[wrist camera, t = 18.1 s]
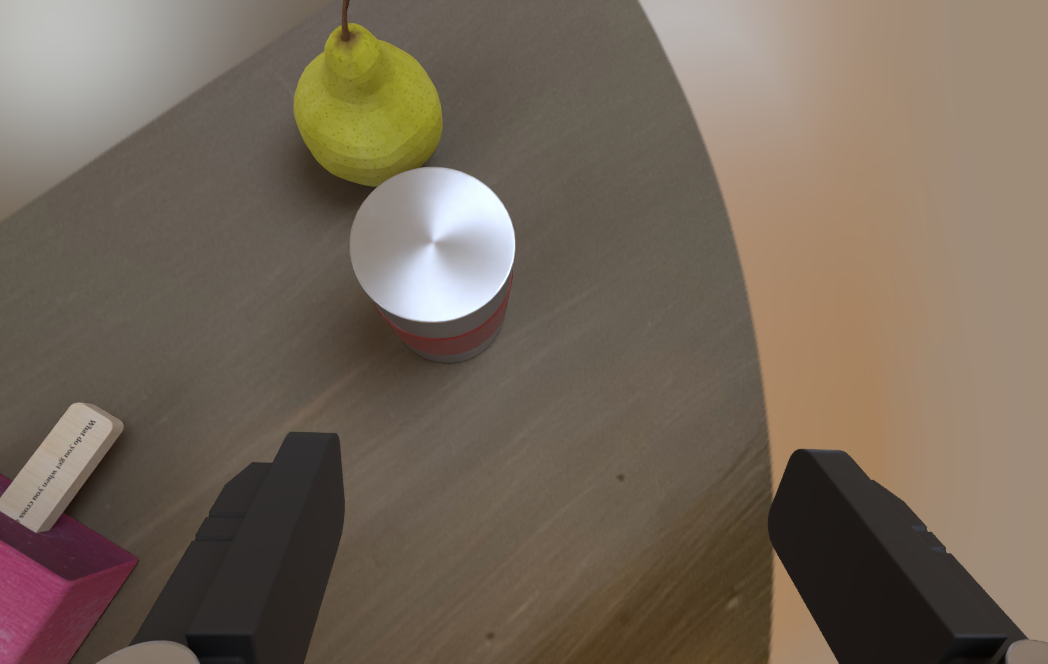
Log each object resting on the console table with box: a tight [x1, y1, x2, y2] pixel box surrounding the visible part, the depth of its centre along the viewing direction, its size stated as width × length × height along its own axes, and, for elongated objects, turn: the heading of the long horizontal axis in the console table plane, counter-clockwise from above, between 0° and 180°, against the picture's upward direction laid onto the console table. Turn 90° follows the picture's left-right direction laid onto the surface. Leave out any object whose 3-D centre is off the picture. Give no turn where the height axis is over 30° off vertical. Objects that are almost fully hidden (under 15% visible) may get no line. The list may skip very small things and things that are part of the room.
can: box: [349, 167, 516, 363], centre depth 25 cm, size 6×6×10 cm
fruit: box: [294, 0, 443, 187], centre depth 26 cm, size 7×7×12 cm
